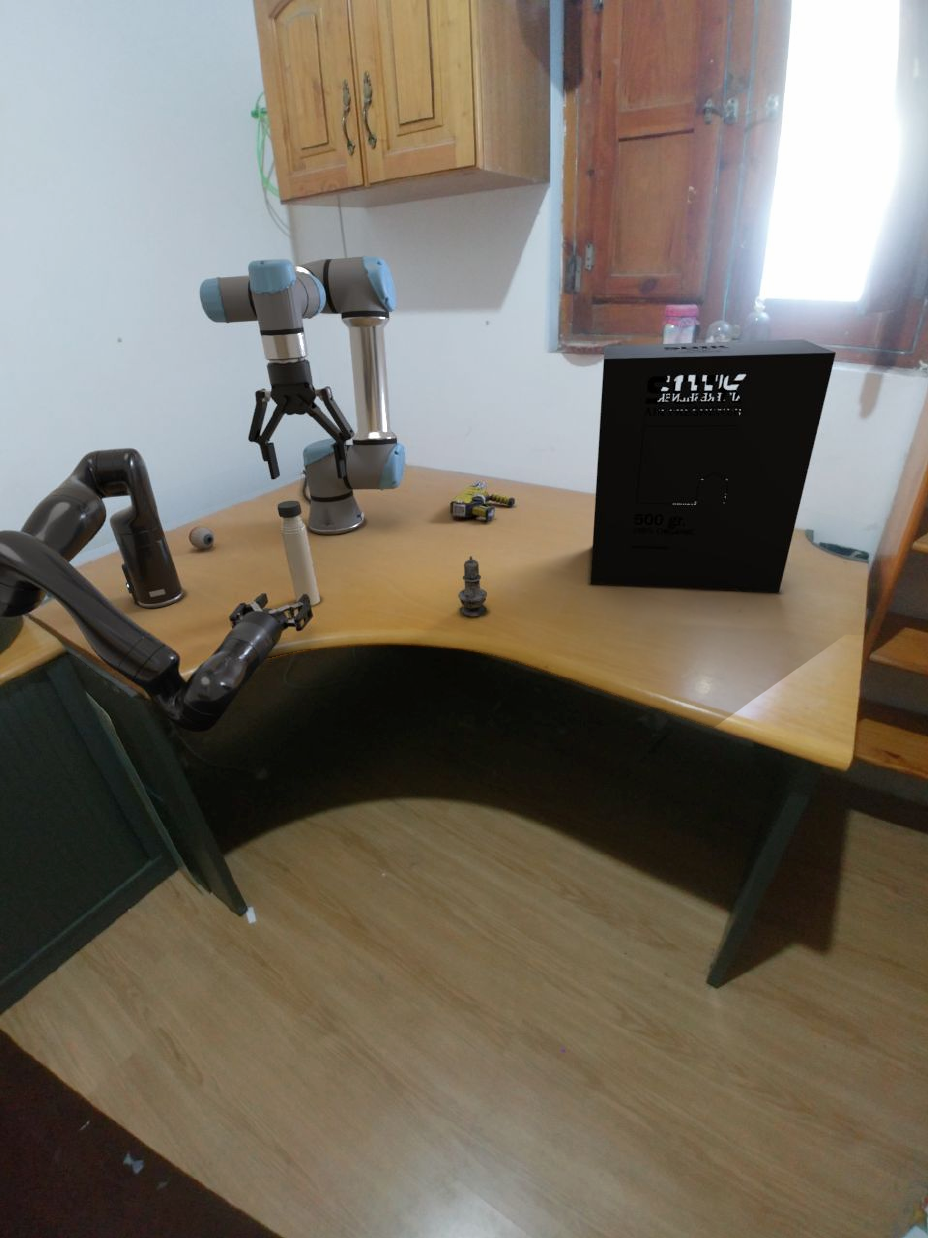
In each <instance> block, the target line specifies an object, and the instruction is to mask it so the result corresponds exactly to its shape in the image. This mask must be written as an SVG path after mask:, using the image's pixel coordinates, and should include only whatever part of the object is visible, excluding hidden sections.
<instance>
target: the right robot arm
mask: <svg viewBox="0 0 928 1238" xmlns="http://www.w3.org/2000/svg"><path fill="white" fill-rule="evenodd" d="M247 270H248V271H247V272H248V275H239V276H225V277H223V276H222V277H220V276H216V277H212V278H205V279H204V280H203V281H202V282H201V284H200V287H199V300H200V304H201V307H202V311H203V312H204V314H205V315H206V317H207V318H208V319H209V320H210V321H211V322H213V323H217V324H218V323H220V324H221V323H222V324H223V323H226V324H231V323H247V322H257V323H258V327H259V334H260V339H261V345H262V350H263V356H264V359H265V360H266V361H268V362H267V364H266V370H267V375H268V379H269V384H270V387H271V389H270V390H267V389H266V388H260V389H258V390H256V391H255V392H254V395H255V407H254V412H253V416H252V420H251V424H250V429H249V433H248V436H247V439H248V441H249V442H250V443H255V444H258V445H259V449H260V453H261V457H262V460H263V462H267V466H268V470H269V476H270V480H276V479H277V478H279V477H280V476H281V473H280V467H279V463H278V458H277V453H276V448H275V444H274V441H272V442H271V438H272V437H273V435H274V433H275V432H276V429H277V428H278V426H279V424H280V422H281V421H282V419H283V417H284V416H285V415H287V416H293V415H298V416H303V415H305V414H307V416H309V417H310V418H312V419H313V420H314V421H315V422H316V423H317V424H318V425H319V426H320V427H321V428H322V429H323V430H324V431H325V432H326V433H327V434H328V435H329V436H330V437H329V438H325V439H322V440H318V441H314V442H312V443H309V444H308V445H307V446H305V447H304V448H303V450H302V457H303V459H302V460H303V467H304V469H302V473H303V474H304V476H305V478H304V482H303V486H302V495H303V497H304V498H305V500H306V501H308V502H309V503H310V507H309V513H308V528H309V529H308V530H310V531H311V532H312V533H314V534H317V535H323V536H324V535H325V536H327V535H329V536H331V535H339V534H340V535H341V534H345V533H350V532H353V531H355V530H357V529H359V528H361V527H362V526H363V525H364V523H365V519H364V518H365V513H364V512H363V511H362V510H361V508H360V505H359V504H358V501H357V500H356V498H355V495H354V490H380V491H384V490H395V489H397V488H398V487H400V485H401V484H402V481H403V478H404V475H405V469H406V452H405V449H406V448H405V446H404V444H402V443H400V442H398V436H397V435H396V434H395V433H394V431H392V429H391V417H390V416H391V415H390V401H389V386H388V385H389V384H388V371H387V369H388V368H387V356H386V355H387V354H386V353H387V352H386V343H385V342H386V340H385V327H386V326H387V324H388V323H389V322H390V313H392V312H394V311H395V310H396V308H397V293H396V288H395V283H394V279H393V276H392V273H391V270H390V267H389V265H388V264H387V262H386V261H385V260H384V258H382V257H380V256H367V255H362V256H352V257H351V256H350V257H340V258H325V259H324V258H323V259H318V260H314V261H310V262H306V263H302V264H299V265H294V264H293V262H292V261H291V260H290V259H287V258H277V259H276V258H273V259H258V260H251V261H250V262H249V264H248V266H247ZM319 314H322V315H340V317H341V319H340V320H341V322H342V323H343V324H344V325H345V327H347V329H348V336H349V337H348V338H349V350H350V362H351V374H352V383H353V385H352V386H353V394H354V395H353V396H354V407H355V408H354V409H355V418H356V430H357V431H356V433H355V431H354V430H353V427H352V426H351V425H350V423H349V421H348V420H347V418H346V416H345V415H344V413H343V412H342V409H341V408H340V406H339V405H338V403H337V402H336V400H335V399H334V394H333V391H332V388H331V387H330V386H324V387H323V388H317V389H316V388H315V386H314V383H313V376H312V375H313V374H312V370H311V365H310V364H311V363H310V361H309V360H308V359H306V358H307V357H308V355H309V353H308V345H307V340H306V334H305V328H304V323H303V322H304V321H303V320H306V319H308V320H310V319H313V318H314V317H316V316H318V315H319ZM317 397H318V399H319V400H320V401H321V402H322V403H323V405H324V407H325V408H326V410H327V412H328V413H329V414H330V416H331V418H332V419H333V421H334V422H333V421H332V420H331V419H330V418H329V417H328V416H327V415H326V414H325V413H324V412H323V411H322V409H321V407H320V406H319V405H318V404H317V403H316V402H315V400H316V399H317ZM271 400H272V401H273V402H274V403H275V405H276V406H275V408H274V409H273V412H272V415H271V416H270V419H269V420H268V422H267V424H266V426H265V427H264V429H263V425H264V421H265V416H266V413H267V409H268V403H269V402H270V401H271ZM335 424H336V425H335ZM262 429H263V431H262ZM350 440H351V443H352V444H348V443H347V441H350ZM307 486H308V492H309V497H308V495H307V494H306V493H307V492H306V487H307Z"/></svg>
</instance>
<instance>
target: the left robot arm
mask: <svg viewBox="0 0 928 1238" xmlns="http://www.w3.org/2000/svg"><path fill="white" fill-rule="evenodd" d="M117 497H129V498H130V505H129V506H127V507H125V508H122V509H121V510H119V511H116V512H115V513H113V514H112V515H111V516H110V517H109V525H110V528H111V531H112V532H113V536H114V539H115V541H116V544H117V546H118V549H119V553H120V556H121V558H122V559H123V560H122V561H123V563H122V564H121V566H120V567H121V569H122V572H123V575H124V578H125V580H126V583H125V585H126V589H127V591H128V593H129V594H130V595H131V597H132V599H133V602H134V604H135V605H137V606H138V605H139V606H140V607H142V608H144V609H158V608H163V607H166V606H170V605H172V604H174V603H176V602H178V601H179V600H181V599H182V598H183V597H184V594H185V591H184V588H183V586H182V584H181V581H180V578H179V574H178V571H177V568H176V566H175V565H176V564H175V562H174V560H173V556H172V553H171V550H170V546H169V544H168V541H167V537H166V534H165V532H164V528H163V525H162V522H161V519H160V516H159V511H158V506H157V501H156V499H155V494H154V491H153V487H152V483H151V479H150V475H149V471H148V467H147V465H146V462H145V460H144V458H143V456H142V454H141V453H140V452H139V451H138V450H137V449H135V448H133V447H121V448H108V449H100V450H99V449H98V450H92V451H90V452H88V453H86V454H85V455H84V456H83V457H82V458H81V459H80V460H79V462H78V463H77V464H76V466H75V468H74V469H73V470H72V472H71V473H70V474H69V475H68V477H67V478H65V479H64V480H63V481H62V482H61V483H60V484H59V486H57V487H56V488H55V489H53V490H52V491H50V493H48V494H47V495H46V496H45V497H44V498H43V499H42V500H41V501H40V502H39V503H38V504H37V505H36V506H35V508H34V509H33V510H32V511H31V512H30V514H29V516H28V517H27V519H26V520H25V522H24V524H23V526H22V527H21V528H20V530H12V529H4V530H0V618H16V617H17V618H18V617H21V616H25V615H27V614H29V613H31V612H33V611H34V610H37V608H39V606H40V605H41V604H42V603H43V601H44V600H45V599H46V596H47V594H48V595H49V596H50V597H52V598H53V599H54V600H55V601H56V602H57V603H59V605H61V606H62V607H63V608H64V609H65V611H66V612H67V614H68V615H70V617H71V618H72V619H73V621H74V623H75V624H76V625H77V627H78V628H79V630H80V632H81V633H82V636H84V638H85V639H86V641H87V643H88V645H89V646H90V647H91V649H92V650H93V652H94V653H95V654H96V656H98V657H99V659H101V661H102V662H103V663H105V665H107V666H108V667H110V668H111V669H112V670H114V671H115V672H117V673H118V674H119V675H121V676H123V677H124V678H126V679H127V680H129V681H130V682H132V683H134V684H135V685H136V686H138V687H140V688H141V689H142V690H143V691H144V692H145V693H146V695H147V696H148V697H149V699H150V700H151V701H152V702H153V703H154V704H155V705H156V706H157V707H158V708H159V709H160V710H161V712H162V713H163V714H164V715H165V716H166V717H167V718H168V719H169V720H170V721H171V722H172V723H173V724H175V725H176V726H178V727H179V728H182V729H183V730H185V731H189V732H194V733H204V732H207V731H210V730H211V729H212V728H213V727H215V726H216V724H218V721H219V720H220V719H221V718H222V716H223V715H224V714H225V712H226V711H227V709H228V708H229V707H230V705H231V704H232V703H233V701H234V700H235V698H236V697H237V695H238V694H239V691H241V689H242V688H243V686H244V685H245V684H246V683H247V682H248V681H249V679H250V678H251V677H252V675H253V674H254V673H255V671H257V669H258V667H260V666H261V665H262V664H263V663H264V662H265V660H266V659H267V658H268V656H269V655H270V654H271V652H272V651H273V650H274V648H275V647H276V645H277V644H278V643H279V642H280V641H281V637H282V634H283V632H284V631H285V630H287V629H288V628H295V630H296V632H302V631H303V630H304V629H305V628H306V626H307V625H308V624H309V623H310V621H311V620H312V619H313V618H314V614H313V610H312V606H311V604H310V598H309V597H308V595H307V594H303V595H302V597H301V598H300V599H299V600H298V602H296V603H294V604H286V605H284V606H281V607H278V608H267V607H266V606H267V605H268V604H269V599H268V595H267V593H266V592H265V593H263V592H262V593H260V595H258V596H257V597H256V598H254V600H252V601H250V602H249V603H246V602H240V603H238V605H237V606H236V607H235V609H234V610H233V611H232V613H231V614H230V615H229V616H228V619H229V623H230V626H231V630H230V631H229V632H228V633H227V634H226V636H225V637H224V638H223V641H222V642H221V644H220V645H219V646H218V647H217V648H216V649H215V650H214V651H213V653H212V654H211V655H210V657H209V658H207V659H206V660H205V661H203V662H202V663H201V664H200V665H199V666H198V667H197V668H196V669H195V670H194V672H193V673H192V674H191V675H190V676H189V678H188V679H187V680H186V679H185V678H184V676H182V674H181V672H180V666H181V655H180V654H179V653H178V652H177V651H176V650H175V649H174V648H172V647H171V646H169V645H168V644H167V643H165V642H164V641H162V640H160V639H159V638H158V637H156V636H155V635H153V634H152V633H151V632H149V631H148V630H146V629H145V628H143V627H142V626H140V625H139V624H138V623H137V622H135V621H134V620H132V619H131V618H130V617H129V616H127V615H126V614H125V613H123V612H122V611H121V610H120V609H119V607H117V606H115V605H114V603H112V601H110V600H109V599H108V598H107V597H106V596H105V595H104V594H103V593H102V592H101V591H100V590H99V589H98V588H97V587H96V586H95V585H94V584H92V583H91V582H90V581H89V580H88V579H87V578H86V577H85V576H84V575H83V574H82V573H81V572H79V570H77V568H76V567H74V566H73V565H72V563H70V562H71V561H72V560H73V559H74V558H75V557H77V556H78V554H79V553H81V552H82V550H83V549H84V548H85V547H86V546H87V545H88V544H89V543H90V542H91V541H92V540H94V538H95V537H96V536H97V534H98V533H99V532H100V530H101V529H102V528H103V527H104V525H105V522H106V521H107V520H106V519H107V508H106V505H105V502H104V500H103V499H109V498H117ZM296 610H297V612H296V613H295V611H296ZM285 612H287V614H286V613H285Z"/></svg>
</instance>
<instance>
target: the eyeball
mask: <svg viewBox="0 0 928 1238" xmlns="http://www.w3.org/2000/svg"><path fill="white" fill-rule="evenodd" d="M188 539H189V542H190V544H191V545H192V546H193V547H194V548H196V549H198V550H206V549H208V548H210V547H212V545H213V544H214V541H215V535H214V533H213V531H212V529H210V528H209V527H207V526H205V525H198V526H195V527H194V528H192V529H191V530H190V532H189V535H188Z"/></svg>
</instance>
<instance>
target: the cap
mask: <svg viewBox="0 0 928 1238" xmlns="http://www.w3.org/2000/svg"><path fill="white" fill-rule="evenodd" d="M276 505H277V506H276V507H277V512H278V516H279V517H280V518H282V519H283V518H292V517H296V516H298V515H299V516H300V515H302V513H303V511H302V507H301V504H300V501H298V500H286V501H282V502H279V503H278V504H276Z"/></svg>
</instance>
